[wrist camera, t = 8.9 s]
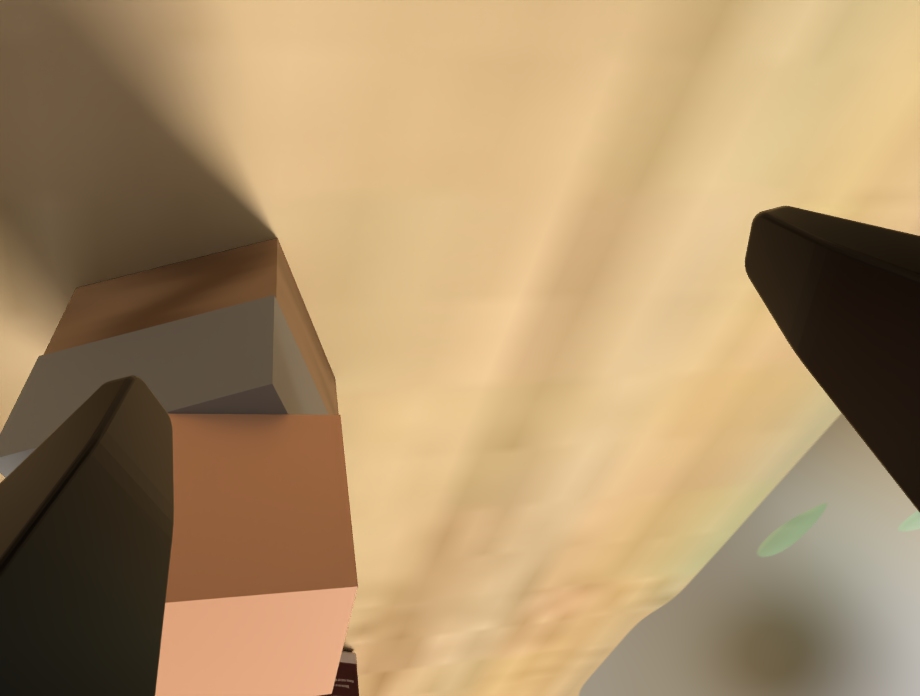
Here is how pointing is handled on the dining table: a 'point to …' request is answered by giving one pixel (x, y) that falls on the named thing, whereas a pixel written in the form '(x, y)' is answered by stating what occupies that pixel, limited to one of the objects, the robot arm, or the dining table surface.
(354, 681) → the supplement box
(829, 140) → the dining table surface
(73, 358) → the tower top
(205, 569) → the terracotta cube
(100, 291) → the tower base
